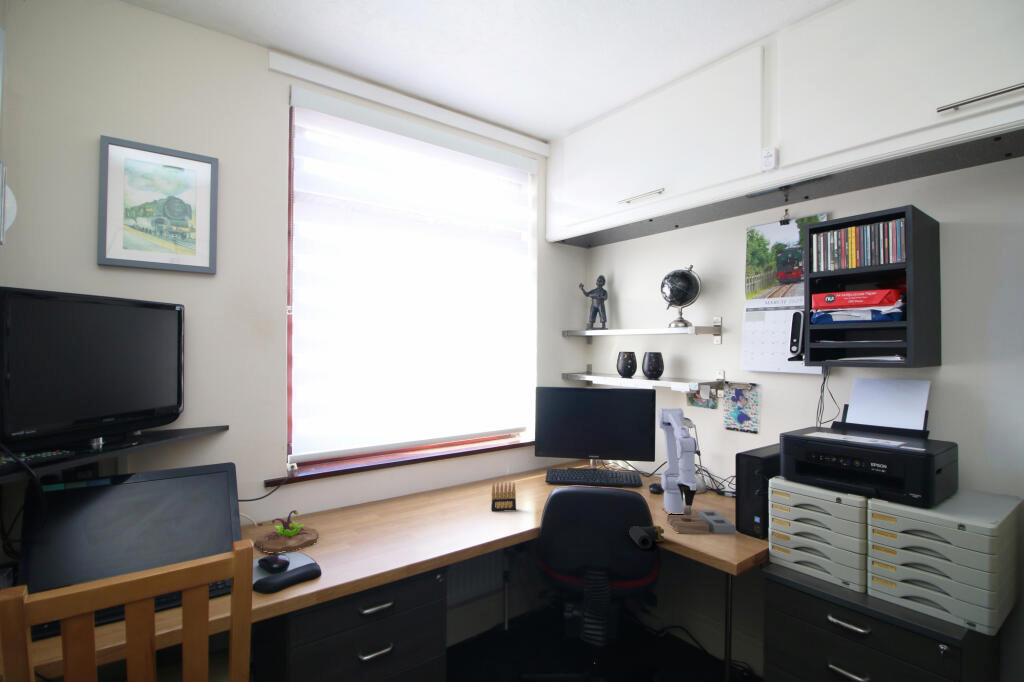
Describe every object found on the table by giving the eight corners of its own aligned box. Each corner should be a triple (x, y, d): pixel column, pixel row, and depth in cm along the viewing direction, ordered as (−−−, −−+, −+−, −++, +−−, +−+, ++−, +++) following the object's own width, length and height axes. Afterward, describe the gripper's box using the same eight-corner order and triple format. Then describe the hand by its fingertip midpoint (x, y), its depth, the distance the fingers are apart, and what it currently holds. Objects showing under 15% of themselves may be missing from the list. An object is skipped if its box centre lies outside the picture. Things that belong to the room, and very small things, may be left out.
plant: (327, 543, 177) (327, 512, 177) (269, 559, 163) (269, 525, 164) (306, 529, 191) (306, 499, 192) (251, 542, 178) (251, 510, 178)
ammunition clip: (515, 509, 215) (515, 481, 215) (516, 510, 213) (516, 482, 214) (491, 510, 214) (491, 482, 214) (491, 511, 212) (491, 483, 212)
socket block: (667, 522, 198) (667, 515, 198) (697, 522, 198) (697, 515, 198) (677, 533, 186) (676, 525, 186) (708, 533, 186) (708, 525, 186)
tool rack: (696, 517, 204) (696, 510, 204) (716, 517, 204) (716, 510, 204) (714, 533, 186) (714, 525, 186) (735, 533, 186) (735, 525, 186)
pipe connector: (654, 519, 187) (670, 533, 172) (654, 533, 187) (670, 548, 172) (624, 520, 186) (637, 535, 171) (624, 534, 186) (638, 550, 171)
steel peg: (682, 513, 194) (681, 489, 194) (689, 513, 194) (689, 489, 194) (684, 515, 191) (684, 492, 191) (692, 515, 191) (692, 492, 191)
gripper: (670, 464, 200) (671, 498, 199) (682, 473, 185) (683, 509, 185) (688, 464, 200) (688, 498, 199) (701, 473, 185) (702, 509, 185)
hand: (687, 504), depth 192 cm, fingers closed on steel peg, 3 cm apart
